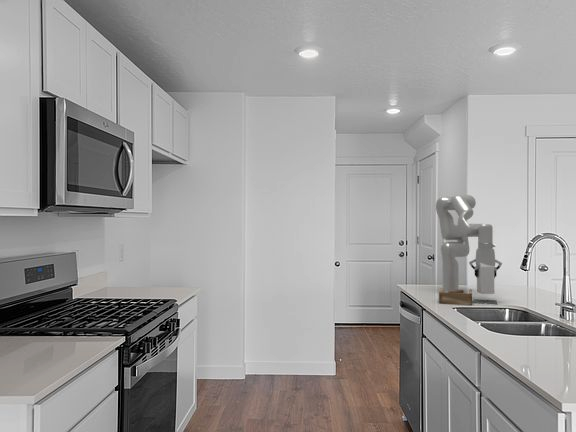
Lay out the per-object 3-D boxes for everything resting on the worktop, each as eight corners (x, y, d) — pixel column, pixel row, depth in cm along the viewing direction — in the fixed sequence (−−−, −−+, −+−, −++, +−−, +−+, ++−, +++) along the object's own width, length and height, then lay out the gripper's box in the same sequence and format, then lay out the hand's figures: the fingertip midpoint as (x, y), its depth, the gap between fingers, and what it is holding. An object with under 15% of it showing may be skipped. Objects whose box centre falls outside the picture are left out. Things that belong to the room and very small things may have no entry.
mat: (473, 299, 287) (473, 299, 287) (496, 300, 283) (496, 300, 283) (473, 303, 275) (473, 302, 275) (497, 304, 271) (497, 303, 271)
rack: (440, 298, 291) (440, 288, 291) (471, 300, 285) (471, 289, 285) (439, 303, 275) (438, 292, 275) (472, 305, 269) (472, 294, 269)
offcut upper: (448, 296, 284) (448, 291, 284) (457, 294, 290) (457, 289, 290) (454, 297, 281) (454, 292, 281) (463, 295, 287) (463, 290, 287)
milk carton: (494, 294, 275) (494, 259, 275) (481, 294, 275) (481, 259, 275) (489, 292, 282) (489, 258, 282) (476, 292, 282) (476, 258, 283)
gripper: (501, 246, 280) (501, 277, 280) (468, 245, 286) (468, 276, 285) (502, 247, 273) (502, 278, 273) (468, 246, 279) (468, 277, 278)
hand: (485, 277), depth 279 cm, fingers closed on milk carton, 8 cm apart
